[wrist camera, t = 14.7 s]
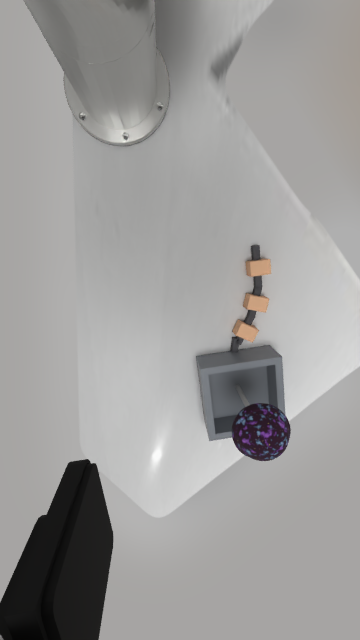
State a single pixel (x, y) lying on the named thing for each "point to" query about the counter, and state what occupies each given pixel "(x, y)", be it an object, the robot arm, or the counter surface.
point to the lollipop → (260, 430)
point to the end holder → (249, 373)
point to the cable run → (252, 299)
